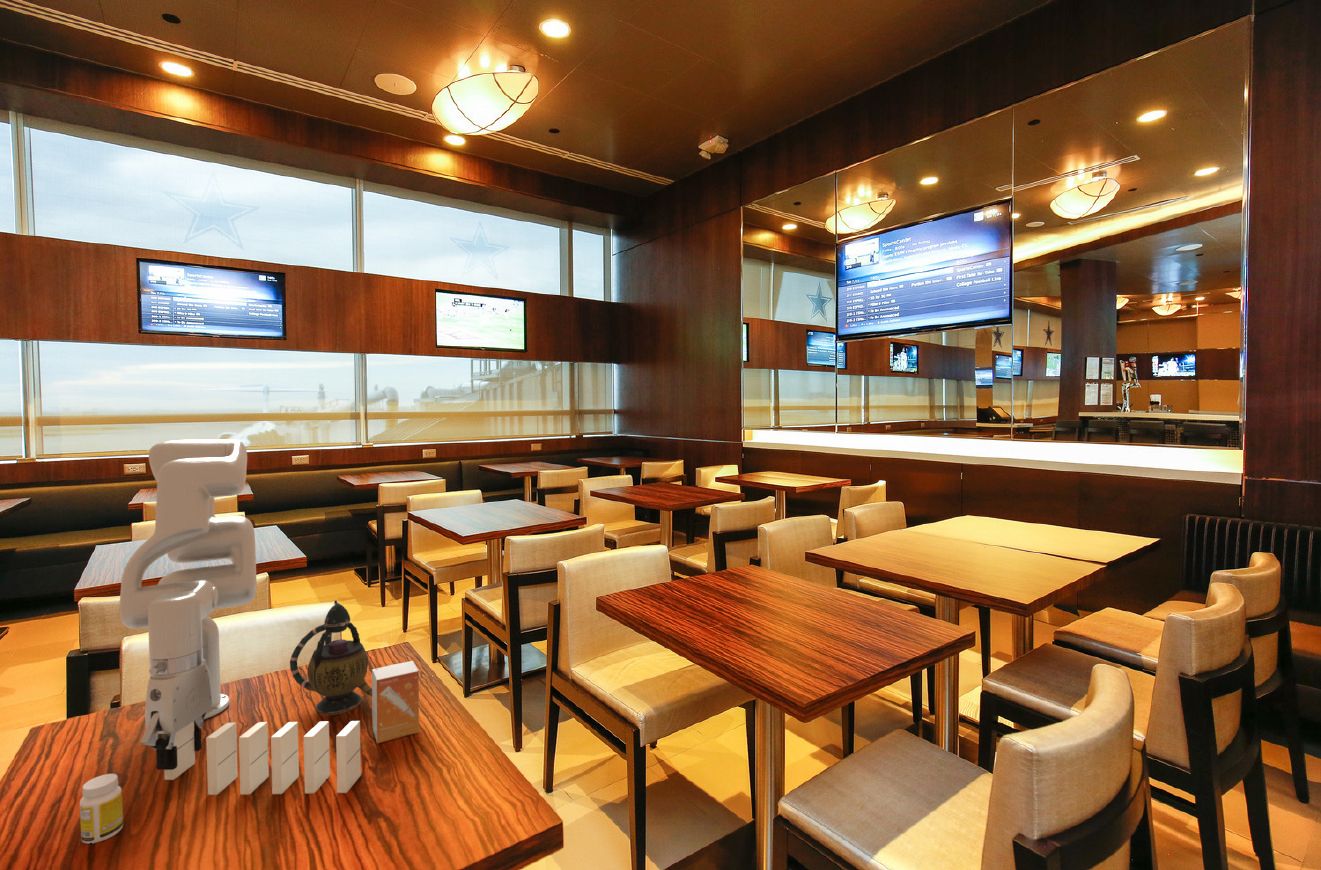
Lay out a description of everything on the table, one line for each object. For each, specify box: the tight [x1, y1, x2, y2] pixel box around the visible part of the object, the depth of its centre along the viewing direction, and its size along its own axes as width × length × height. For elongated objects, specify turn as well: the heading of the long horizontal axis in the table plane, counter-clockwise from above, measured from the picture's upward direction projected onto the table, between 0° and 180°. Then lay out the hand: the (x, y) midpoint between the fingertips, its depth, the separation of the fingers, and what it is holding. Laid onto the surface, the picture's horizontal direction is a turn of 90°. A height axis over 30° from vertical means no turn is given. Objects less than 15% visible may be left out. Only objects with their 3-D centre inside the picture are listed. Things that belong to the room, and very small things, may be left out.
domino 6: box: [335, 720, 362, 794], centre depth 104 cm, size 2×5×10 cm, turn 1°
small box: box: [371, 660, 420, 744], centre depth 122 cm, size 8×6×13 cm
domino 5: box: [303, 720, 331, 794], centre depth 104 cm, size 2×5×10 cm, turn 1°
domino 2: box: [205, 721, 239, 796], centre depth 104 cm, size 2×5×10 cm, turn 1°
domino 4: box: [270, 721, 300, 795], centre depth 104 cm, size 2×5×10 cm, turn 1°
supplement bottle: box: [79, 773, 124, 845], centre depth 92 cm, size 5×5×8 cm
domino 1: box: [162, 721, 196, 781], centre depth 108 cm, size 2×5×10 cm, turn 1°
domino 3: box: [238, 721, 270, 795], centre depth 104 cm, size 2×5×10 cm, turn 1°
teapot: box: [289, 600, 372, 716], centre depth 132 cm, size 12×25×23 cm, turn 70°
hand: (179, 758), depth 108 cm, fingers closed on domino 1, 4 cm apart
